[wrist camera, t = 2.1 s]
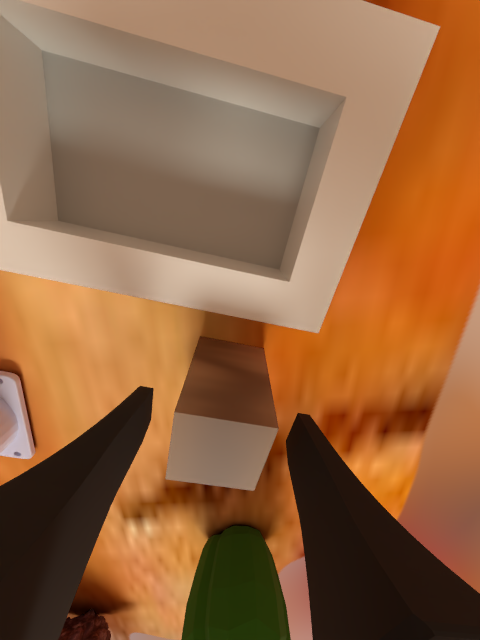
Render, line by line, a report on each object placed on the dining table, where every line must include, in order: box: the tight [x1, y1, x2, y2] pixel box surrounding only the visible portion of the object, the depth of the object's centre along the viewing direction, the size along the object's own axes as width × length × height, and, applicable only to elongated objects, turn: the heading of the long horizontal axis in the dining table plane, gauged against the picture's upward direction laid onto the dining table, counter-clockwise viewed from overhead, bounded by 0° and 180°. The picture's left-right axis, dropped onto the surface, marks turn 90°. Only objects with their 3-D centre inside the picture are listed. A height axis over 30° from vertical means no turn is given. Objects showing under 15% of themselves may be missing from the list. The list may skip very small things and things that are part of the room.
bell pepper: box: [182, 526, 291, 640], centre depth 19 cm, size 8×8×10 cm
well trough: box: [0, 0, 440, 333], centre depth 9 cm, size 15×10×3 cm, turn 78°
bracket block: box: [166, 336, 279, 491], centre depth 12 cm, size 4×4×6 cm
